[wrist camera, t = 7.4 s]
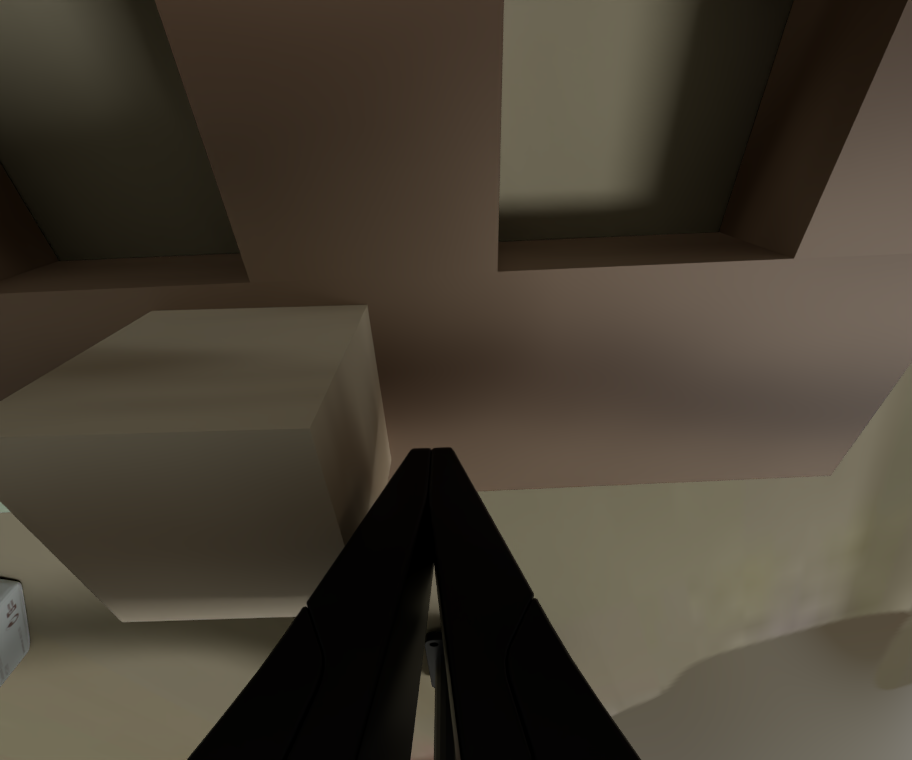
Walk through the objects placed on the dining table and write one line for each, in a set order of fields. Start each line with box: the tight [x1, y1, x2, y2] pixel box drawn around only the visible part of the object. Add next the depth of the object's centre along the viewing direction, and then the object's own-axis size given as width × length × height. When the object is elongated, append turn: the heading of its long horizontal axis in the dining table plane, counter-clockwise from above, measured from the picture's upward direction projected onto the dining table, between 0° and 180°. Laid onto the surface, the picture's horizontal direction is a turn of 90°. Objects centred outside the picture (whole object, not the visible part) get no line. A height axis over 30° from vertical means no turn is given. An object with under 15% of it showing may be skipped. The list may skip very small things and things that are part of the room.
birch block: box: [0, 305, 391, 622], centre depth 8 cm, size 4×4×4 cm
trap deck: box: [0, 0, 912, 512], centre depth 9 cm, size 13×30×2 cm, turn 92°
